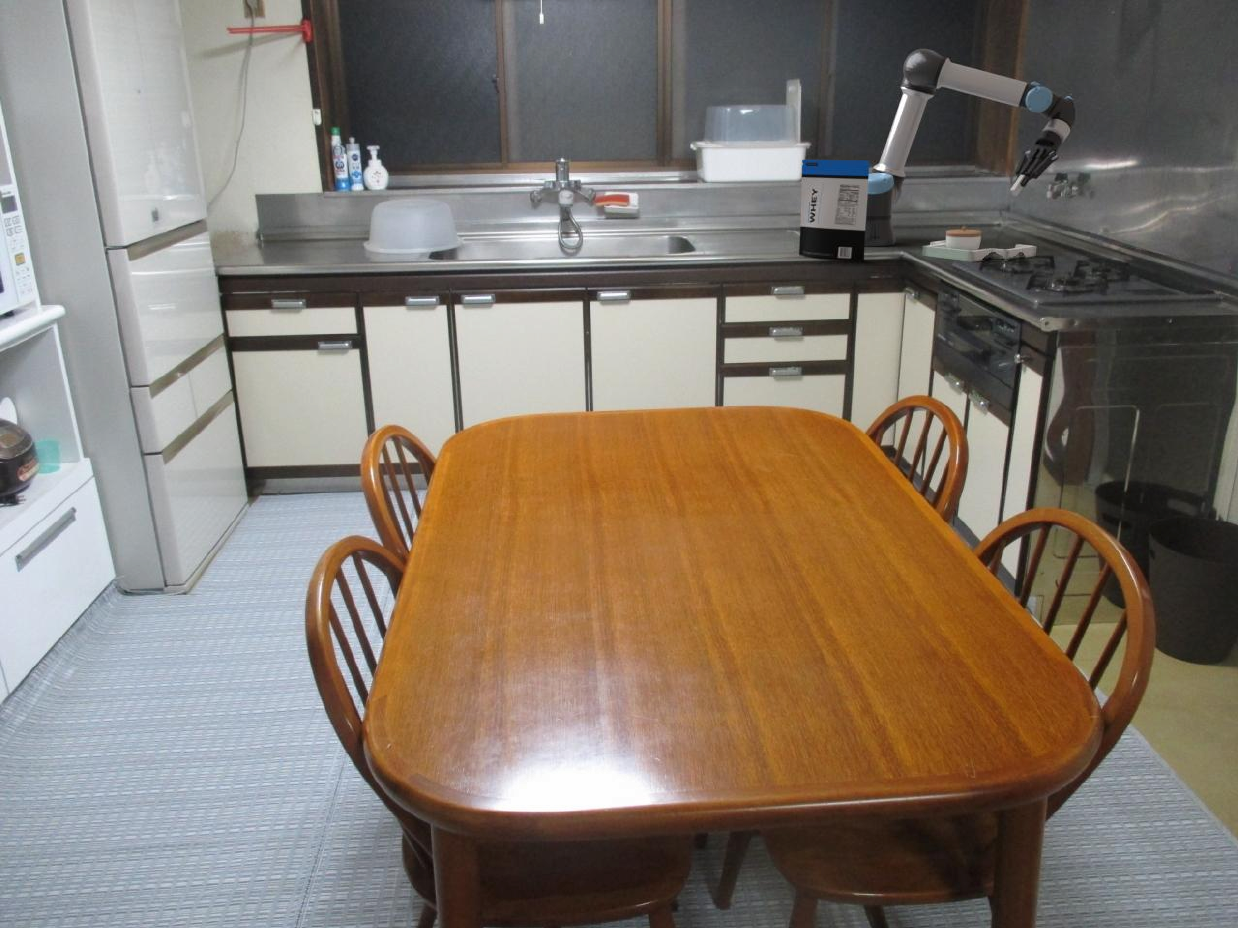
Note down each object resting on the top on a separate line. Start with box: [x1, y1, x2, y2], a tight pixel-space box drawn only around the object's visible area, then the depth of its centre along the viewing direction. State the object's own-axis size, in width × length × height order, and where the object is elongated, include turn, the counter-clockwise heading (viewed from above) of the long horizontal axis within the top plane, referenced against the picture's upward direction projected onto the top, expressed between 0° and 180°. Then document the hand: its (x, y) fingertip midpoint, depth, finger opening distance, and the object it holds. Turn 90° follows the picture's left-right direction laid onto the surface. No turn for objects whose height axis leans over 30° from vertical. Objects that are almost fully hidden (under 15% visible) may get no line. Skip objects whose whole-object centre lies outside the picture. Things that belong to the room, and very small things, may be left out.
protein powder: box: [798, 159, 870, 262], centre depth 322 cm, size 10×24×30 cm, turn 46°
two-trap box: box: [921, 239, 1037, 263], centre depth 325 cm, size 29×24×3 cm
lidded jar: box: [945, 225, 983, 251], centre depth 321 cm, size 11×11×9 cm
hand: (1013, 193), depth 329 cm, fingers closed
